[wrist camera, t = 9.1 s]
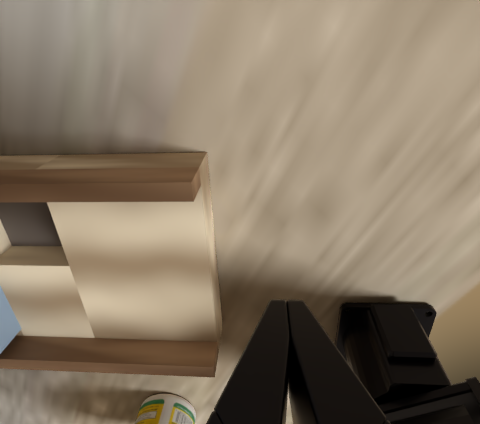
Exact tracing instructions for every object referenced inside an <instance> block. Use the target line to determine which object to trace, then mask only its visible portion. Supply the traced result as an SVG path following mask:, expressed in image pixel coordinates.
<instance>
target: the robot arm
mask: <svg viewBox="0 0 480 424" xmlns="http://www.w3.org/2000/svg"><path fill="white" fill-rule="evenodd" d="M346 310H348V311H346ZM426 312H427V313H426ZM435 317H436V311H435V309H434V308H433V306H431V305H419V304H373V303H345V304H342V305H341V307H340V311H339V318H338V326H337V333H336V340H335V344H334V343H333V342H332V340H331V339H330V337H329V336H328V334H327V333H326V332H325V330H324V329H323V327H322V326H321V325H320V323H319V322H318V320H317V319H316V318H315V316H314V315H313V313H312V312H311V310H310V309H309V308H308V306H307V305H306V303H305V302H304V301H303V300H288V301H287V302H286V300H282V299H272V300H270V301H269V303H268V305H267V307H266V309H265V311H264V313H263V315H262V317H261V319H260V321H259V323H258V325H257V326H256V328H255V330H254V332H253V334H252V336H251V338H250V340H249V342H248V344H247V346H246V348H245V350H244V352H243V354H242V356H241V358H240V359H239V361H238V363H237V365H236V367H235V369H234V371H233V373H232V375H231V377H230V379H229V381H228V383H227V385H226V387H225V389H224V391H223V392H222V394H221V396H220V398H219V400H218V402H217V404H216V406H215V408H214V411H213V412H212V413H211V415H210V417H209V419H208V421H207V423H206V424H285V422H286V410H287V395H288V390H289V398H290V405H291V411H292V418H293V424H480V383H479V381H478V380H477V378H476V377H473V378H469V379H466V381H465V382H462V383H457V384H454V385H452V383H451V382H450V380H449V378H448V376H447V374H446V372H445V370H444V369H443V367H442V365H441V363H440V361H439V359H438V357H437V353H436V351H435V349H434V348H433V346H432V344H431V342H430V340H429V334H430V332H431V329H432V326H433V323H434V320H435Z"/></svg>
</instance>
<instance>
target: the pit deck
mask: <svg viewBox="0 0 480 424" xmlns="http://www.w3.org/2000/svg"><path fill="white" fill-rule="evenodd" d="M0 286H1V288H2V290H3V292H4V294H5V296H6V298H7V300H8V302H9V304H10V306H11V308H12V310H13V312H14V314H15V316H16V318H17V320H18V322H19V324H20V326H21V328H22V329H21V330H20V331H19V332H18V334H17V335H16V336H15V337H14V338H13V340H12V341H11V342H10V343H9V344H8V345H7V347H6V348H5V349H4V350H3V351H2V353H1V354H0V368H5V369H29V370H53V371H77V372H101V373H125V374H149V375H173V376H197V377H215V371H216V365H217V358H218V352H219V345H220V339H221V333H222V326H223V323H222V312H221V301H220V290H219V278H218V267H217V256H216V245H215V234H214V223H213V212H212V201H211V190H210V179H209V168H208V157H207V152H198V153H138V154H78V155H17V156H0Z"/></svg>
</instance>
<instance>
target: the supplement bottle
mask: <svg viewBox="0 0 480 424" xmlns="http://www.w3.org/2000/svg"><path fill="white" fill-rule="evenodd" d="M195 418H196V414H195V410H194V408H193V406H192V405H191V404H190V403H189V402H188V401H187V400H185V399H184V398H182V397H179V396H177V395H173V394H157V395H152V396H150V397H148V398H147V399H145V401H144V402H143V403H142V405H141V407H140V410H139V413H138V416H137V419H136V421H135V424H194V423H195Z"/></svg>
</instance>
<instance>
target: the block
mask: <svg viewBox="0 0 480 424" xmlns="http://www.w3.org/2000/svg"><path fill="white" fill-rule="evenodd" d="M21 329H22V328H21V326H20V324H19V322H18V320H17V318H16V316H15V314H14V312H13V310H12V308H11V306H10V304H9V302H8V300H7V298H6V296H5V294H4V292H3V290H2V288H1V286H0V354H1V353H2V351H3V350H4V349H5V348H6V347H7V345H8V344H9V343H10V342H11V341H12V340H13V338H14V337H15V336H16V335H17V334H18V332H19V331H20V330H21Z"/></svg>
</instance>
